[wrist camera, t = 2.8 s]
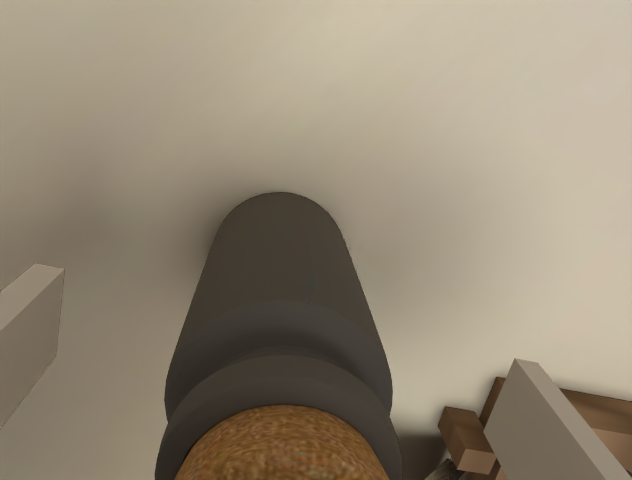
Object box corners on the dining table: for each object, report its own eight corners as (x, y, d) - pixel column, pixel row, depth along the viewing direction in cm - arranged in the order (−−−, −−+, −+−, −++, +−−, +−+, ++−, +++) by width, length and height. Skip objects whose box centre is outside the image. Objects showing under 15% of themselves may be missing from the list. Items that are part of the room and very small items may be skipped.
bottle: (263, 163, 22) (236, 362, 7) (371, 241, 23) (518, 531, 9) (186, 268, 23) (39, 608, 9) (293, 336, 24) (313, 719, 10)
